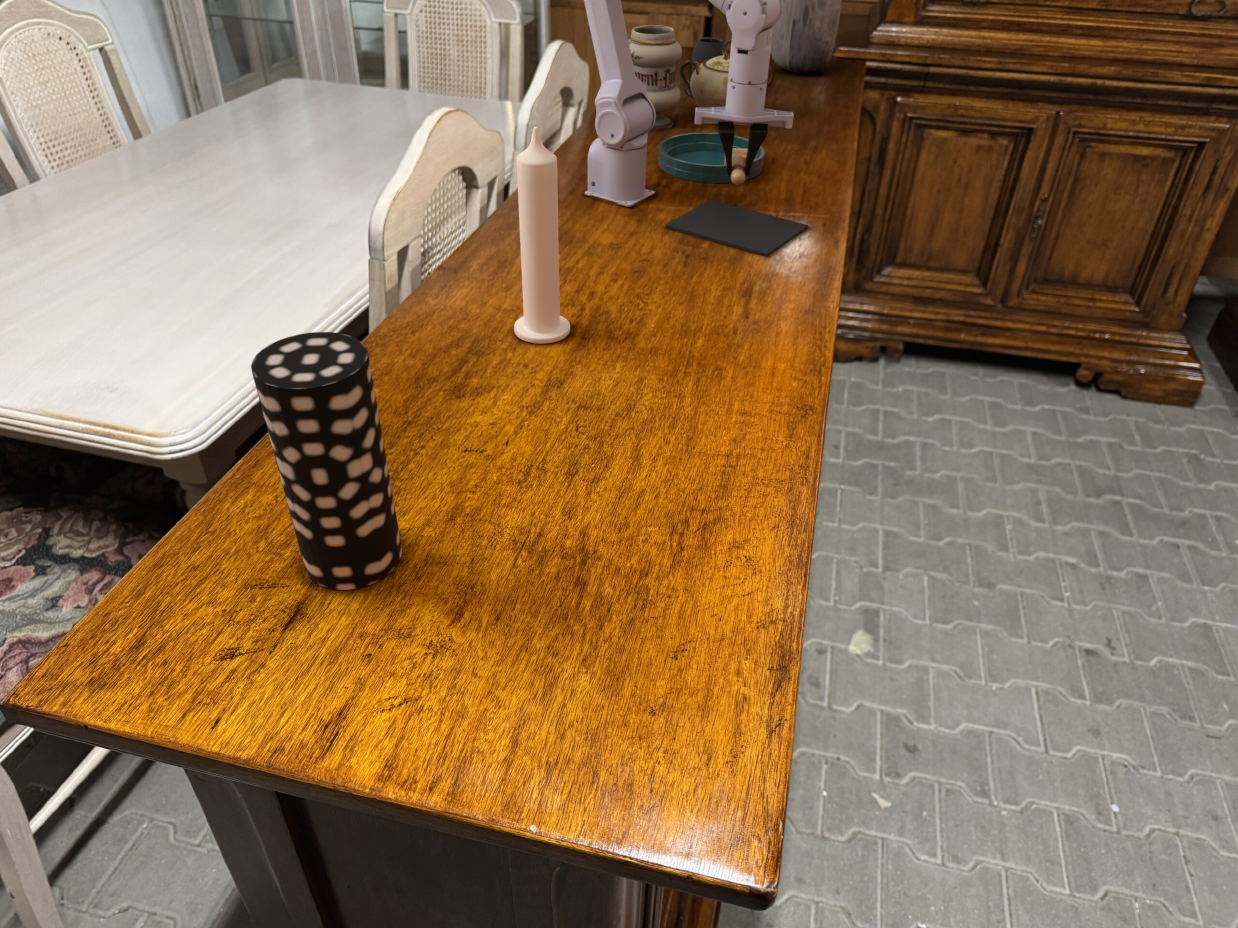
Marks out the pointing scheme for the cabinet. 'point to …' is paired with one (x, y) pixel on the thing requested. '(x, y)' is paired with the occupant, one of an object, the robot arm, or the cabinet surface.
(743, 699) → the cabinet surface
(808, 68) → the vase
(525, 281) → the candle
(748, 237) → the mat
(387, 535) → the white-spotted black cylinder
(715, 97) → the sugar bowl
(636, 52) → the apothecary jar
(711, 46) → the mug
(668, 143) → the bowl
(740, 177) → the wooden handle
